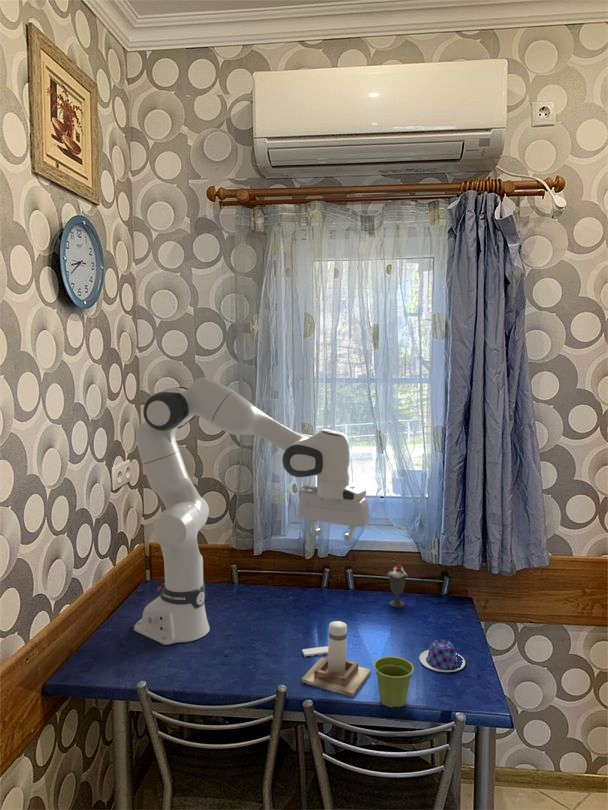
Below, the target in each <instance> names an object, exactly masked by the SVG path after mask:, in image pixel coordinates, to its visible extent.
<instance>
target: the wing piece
mask: <svg viewBox="0 0 608 810" xmlns="http://www.w3.org/2000/svg"><path fill="white" fill-rule="evenodd" d="M301 652H302V654H303V656H304V658H307V657H306V656H311V657H315V656H314V655H319V656H324V655H323V654H326V655H328V645H327V646H319V647H318V646H317V647H310V648H303V649H302V650H301Z"/></svg>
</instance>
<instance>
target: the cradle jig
mask: <svg viewBox="0 0 608 810" xmlns="http://www.w3.org/2000/svg"><path fill="white" fill-rule="evenodd" d="M371 670H372V669H369V668H366V667H362V666H359V662H356V661H353V660H348V659H346V666H345V675H344V676H341V675H337V674H334V673H330V672H328V655H327V656H326V657H323V656H321V657H320V658H319V659H318V660H317V661H316V662H315V664H314V665H313V666H312V667H310V669H309V670H307V672H306V673H305V674H304V676H303V677H302V678H301V680H300V681H301V682H303V683H302V684H304V683H307V684H306V685H308V684H310V685H309V686H311V685H314V686H313V687H315V686H317V687H316V688H318V687H320V689H322V688H323V690H326V689H327V690H326V691H329V690H330V692H334V693H336V692H337V694H340V695H345V696H348V697H351V698H354V697H355V695H356V694H357V693H358V691H359V690H360V689H361V687H362V686H363V685H364V683H365V682H366V680H367V679H368V677H369V676H370V675H371V673H372V671H371ZM301 682H300V683H301Z"/></svg>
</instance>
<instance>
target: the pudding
mask: <svg viewBox="0 0 608 810" xmlns="http://www.w3.org/2000/svg"><path fill="white" fill-rule="evenodd" d="M429 646H430V647H429V649H427V650H424V651H423V652H421V653H420V655H419V661H420V663H421V664H422V665H423V666H424V667H426V668H428V669H430V670H432V671H435V672H440V673H441V672H442V673H452V672H459V671H460V670H462V669H464V667H465V665H466V660H465V658H464V657H463V656H462V655H460V654H459V653H457V652H456V650H455V646H454V644H453V643H452V642H450V641H449V640H446V639H435V640H433V642H431V643H430V645H429ZM457 654H458V656H460V657H461V658H462V659H463V660H462V662H463V663H462V665H461V667H460V668H457V669H455V670H451V669H453V668H452V667H455V666H458V663H457V662H458V661H457V657H456V655H457ZM426 658H427V659H426ZM455 668H456V667H455ZM445 669H446V670H445ZM447 669H450V670H447Z"/></svg>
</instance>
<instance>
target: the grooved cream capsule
mask: <svg viewBox="0 0 608 810" xmlns="http://www.w3.org/2000/svg"><path fill="white" fill-rule="evenodd" d="M347 638H348V625H347V624H346V623H345V621H344V622H343V621H340V620H337V621H336V620H335V621H331V622H330V623H329V624H328V645H327V646H328V654H327V656H328V672H330V673H334V674H337V675H341V676H344V675H345V666H346V660H347V640H348V639H347Z"/></svg>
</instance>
